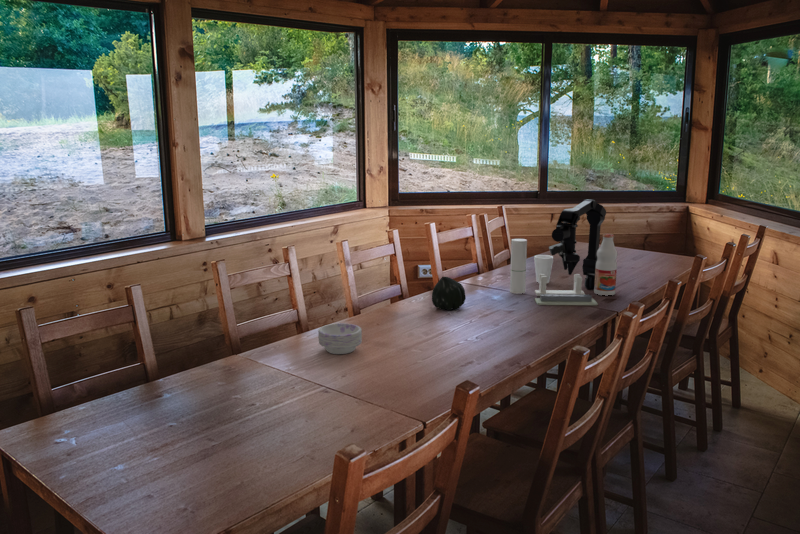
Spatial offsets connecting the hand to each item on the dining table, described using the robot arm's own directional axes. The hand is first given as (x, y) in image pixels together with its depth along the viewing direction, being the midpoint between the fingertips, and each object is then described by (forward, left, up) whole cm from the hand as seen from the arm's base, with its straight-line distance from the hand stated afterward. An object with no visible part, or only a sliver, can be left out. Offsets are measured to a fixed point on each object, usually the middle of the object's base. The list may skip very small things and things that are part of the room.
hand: (567, 272), depth 283 cm
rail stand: (+1, -8, -12) cm, 15 cm away
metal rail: (+2, +6, -12) cm, 13 cm away
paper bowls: (+92, +70, -13) cm, 117 cm away
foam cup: (+5, -32, -13) cm, 35 cm away
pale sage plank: (+1, +6, -12) cm, 14 cm away
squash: (+53, +16, -13) cm, 57 cm away
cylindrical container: (+20, -12, -13) cm, 27 cm away
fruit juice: (-20, -10, -13) cm, 25 cm away
